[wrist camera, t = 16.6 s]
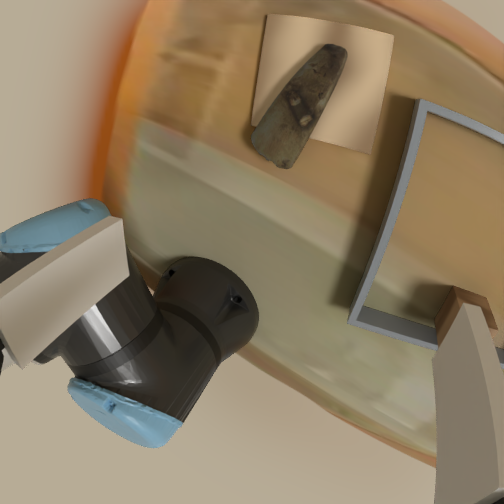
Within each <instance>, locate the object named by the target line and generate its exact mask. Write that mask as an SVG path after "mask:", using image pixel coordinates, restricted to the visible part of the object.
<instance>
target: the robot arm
mask: <svg viewBox="0 0 504 504" xmlns="http://www.w3.org/2000/svg"><path fill="white" fill-rule="evenodd" d="M0 251H1V252H0V374H1V371H3V370H4V369H6V368H8V367H9V366H11V365H13V364H14V363H16V364H17V365H18V366H19V367H20V368H21V369H24V368H25V367H26V366H27V365H28V364H29V363H30V362H33V363H35V364H38V365H42V364H45V363H47V362H49V361H50V360H52V359H54V358H56V357H57V356H61V357H62V358H63V359H64V361H65V362H66V363H67V365H68V366H69V367H70V369H71V370H72V371H73V373H74V374H75V377H74V378H71V379H70V382H69V384H68V392H69V394H71V397H72V398H73V399H74V401H75V402H76V403H77V404H78V405H79V406H80V407H81V408H82V409H83V410H84V411H85V412H87V413H88V414H89V415H90V416H91V417H93V418H94V419H95V420H96V421H98V422H99V423H101V424H102V425H103V426H105V427H106V428H108V429H109V430H111V431H113V432H114V433H116V434H118V435H119V436H121V437H123V438H125V439H127V440H129V441H131V442H133V443H136V444H138V445H141V446H144V447H149V448H158V447H161V446H163V445H165V444H166V443H167V442H168V441H169V440H170V438H171V437H172V435H173V434H174V433H175V432H176V431H177V429H178V428H180V427H181V426H182V424H183V422H184V421H185V419H186V418H187V416H188V415H189V413H190V411H191V410H192V408H193V407H194V405H195V403H196V402H197V400H198V399H199V397H200V395H201V393H202V392H203V390H204V389H205V387H206V386H207V384H208V382H209V381H210V379H211V377H212V376H213V374H214V372H215V371H216V369H217V368H218V366H219V365H220V363H221V362H223V361H224V360H225V359H227V358H228V357H230V356H231V355H232V354H234V353H235V352H237V351H238V350H239V349H241V348H242V347H243V346H245V345H246V344H247V343H248V342H249V341H250V340H251V338H252V336H253V335H254V333H255V331H256V329H257V327H258V322H259V312H258V307H257V304H256V301H255V299H254V297H253V295H252V293H251V291H250V290H249V288H248V287H247V286H246V284H245V283H244V282H243V281H242V280H241V279H240V278H239V277H238V276H237V275H236V274H235V273H234V272H232V271H231V270H229V269H228V268H227V267H225V266H223V265H221V264H219V263H217V262H215V261H212V260H209V259H206V258H200V257H188V258H183V259H181V260H178V261H177V262H175V263H174V264H173V265H171V266H170V267H169V268H168V269H167V270H166V271H165V272H164V274H163V275H162V277H161V279H160V281H159V283H158V285H157V288H156V290H155V292H154V294H153V296H152V294H151V293H150V291H149V289H148V287H147V285H146V283H145V281H144V279H143V277H142V275H141V273H140V271H139V269H138V268H137V266H136V264H135V262H134V260H133V258H132V256H131V253H130V251H129V249H128V247H127V245H126V243H125V238H124V230H123V220H122V219H121V218H117V217H113V216H111V214H110V212H109V210H108V208H107V207H106V205H105V204H104V203H103V202H101V201H99V200H97V199H91V198H90V199H83V200H80V201H76V202H73V203H70V204H67V205H64V206H61V207H58V208H55V209H53V210H50V211H47V212H45V213H43V214H40V215H37V216H35V217H33V218H30V219H28V220H26V221H24V222H21V223H19V224H17V225H15V226H13V227H11V228H10V229H8V230H6V231H5V232H2V233H0ZM432 366H433V376H434V387H435V402H436V425H437V463H436V485H435V498H434V504H504V376H503V372H502V368H501V365H500V362H499V358H498V355H497V352H496V349H495V346H494V343H493V340H492V337H491V334H490V331H489V328H488V325H487V323H486V320H485V317H484V315H483V312H482V310H481V307H479V306H475V305H471V304H467V303H463V304H462V306H461V308H460V310H459V312H458V314H457V316H456V318H455V320H454V322H453V324H452V325H451V327H450V329H449V331H448V333H447V335H446V336H445V338H444V340H443V342H442V343H441V345H440V347H439V349H438V350H437V352H436V354H435V355H434V357H433V358H432Z"/></svg>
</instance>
